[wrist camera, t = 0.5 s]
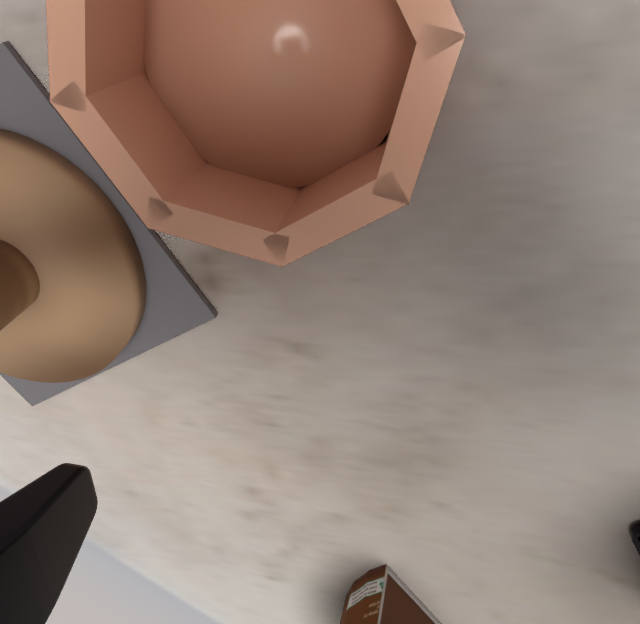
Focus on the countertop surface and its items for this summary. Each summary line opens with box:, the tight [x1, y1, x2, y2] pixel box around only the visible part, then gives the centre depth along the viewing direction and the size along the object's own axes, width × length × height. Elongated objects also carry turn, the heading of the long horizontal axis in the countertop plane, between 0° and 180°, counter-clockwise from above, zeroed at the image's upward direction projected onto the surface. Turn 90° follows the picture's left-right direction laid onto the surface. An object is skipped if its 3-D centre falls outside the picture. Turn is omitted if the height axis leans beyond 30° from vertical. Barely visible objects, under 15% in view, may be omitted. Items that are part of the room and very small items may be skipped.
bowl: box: [46, 0, 466, 267], centre depth 16 cm, size 10×10×4 cm
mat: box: [0, 41, 218, 406], centre depth 24 cm, size 12×12×1 cm
